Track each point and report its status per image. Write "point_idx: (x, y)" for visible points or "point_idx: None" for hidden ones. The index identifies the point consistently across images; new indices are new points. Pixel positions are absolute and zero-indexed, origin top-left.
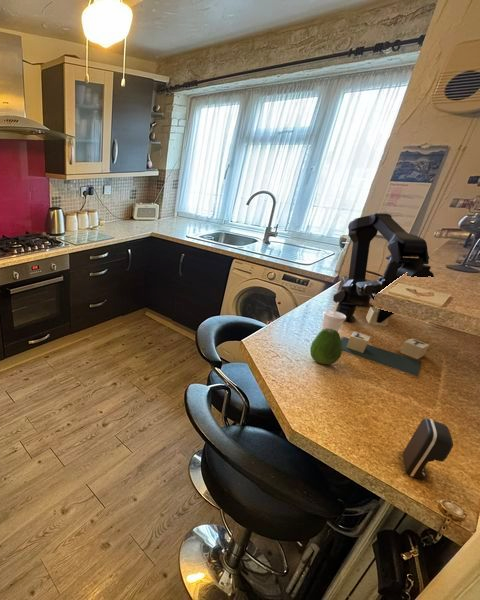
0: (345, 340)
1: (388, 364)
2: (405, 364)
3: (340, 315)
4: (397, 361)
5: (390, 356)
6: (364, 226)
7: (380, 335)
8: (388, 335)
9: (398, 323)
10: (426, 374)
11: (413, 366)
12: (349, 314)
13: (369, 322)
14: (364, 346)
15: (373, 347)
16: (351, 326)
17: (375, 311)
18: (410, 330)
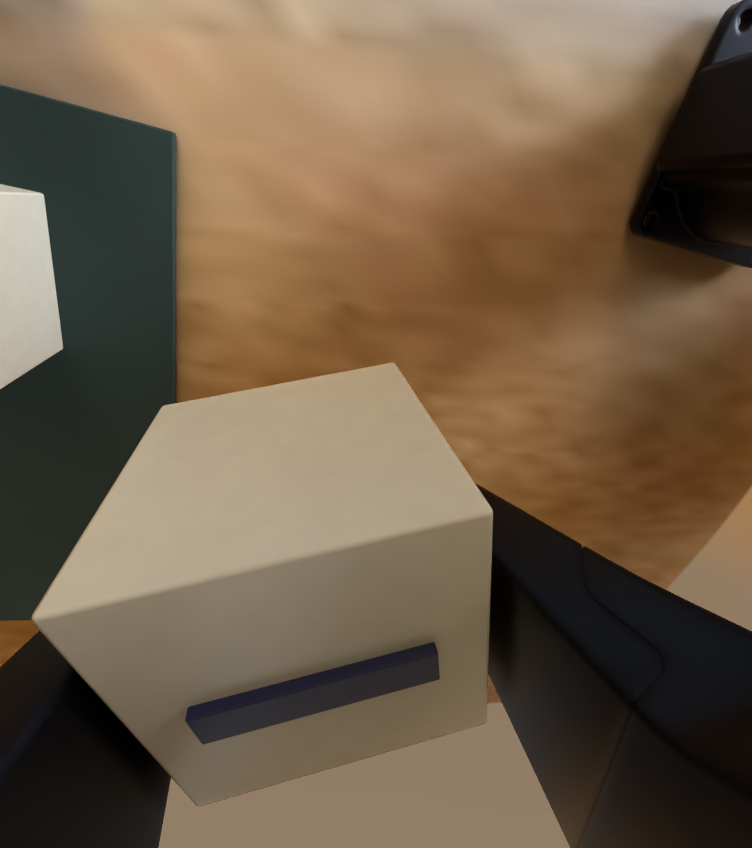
0: (72, 150)
1: None
2: (20, 570)
3: None
4: (18, 537)
5: (71, 502)
6: None
7: (462, 438)
8: (489, 476)
9: (698, 509)
10: (14, 637)
11: (36, 600)
12: (739, 198)
13: (159, 417)
14: None
15: (144, 403)
16: (545, 238)
17: (119, 640)
18: (616, 554)
